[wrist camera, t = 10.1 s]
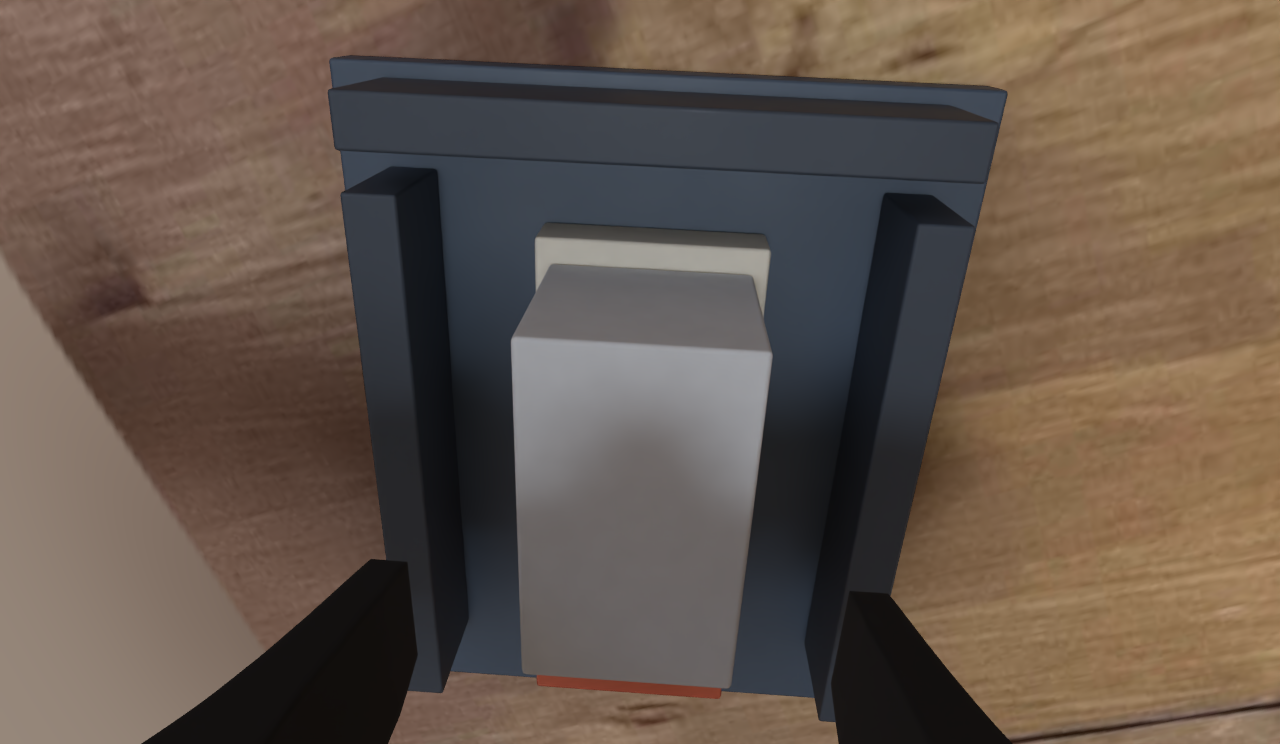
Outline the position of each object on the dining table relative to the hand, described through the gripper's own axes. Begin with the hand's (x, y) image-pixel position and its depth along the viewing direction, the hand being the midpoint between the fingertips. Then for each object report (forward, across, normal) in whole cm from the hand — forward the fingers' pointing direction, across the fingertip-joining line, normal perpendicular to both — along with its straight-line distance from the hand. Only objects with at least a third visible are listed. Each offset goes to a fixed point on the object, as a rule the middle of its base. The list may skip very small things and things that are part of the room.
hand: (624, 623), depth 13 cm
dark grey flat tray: (+7, 0, 0) cm, 7 cm away
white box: (+6, 0, 0) cm, 6 cm away
